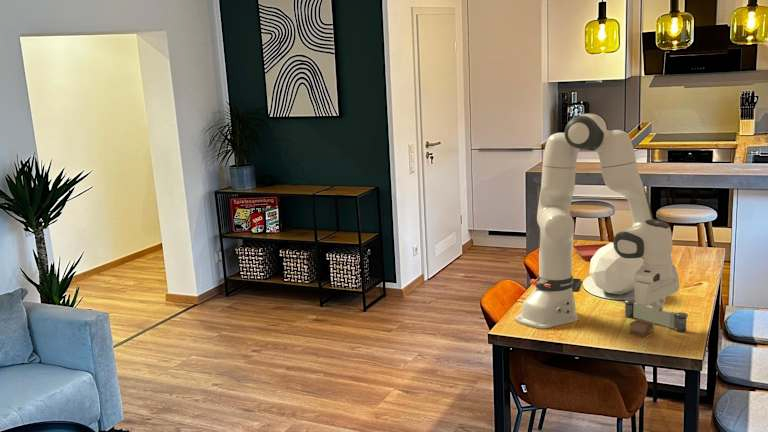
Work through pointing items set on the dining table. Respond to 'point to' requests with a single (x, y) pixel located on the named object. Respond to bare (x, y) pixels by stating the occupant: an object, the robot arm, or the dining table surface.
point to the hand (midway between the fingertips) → (657, 311)
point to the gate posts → (680, 316)
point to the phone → (576, 284)
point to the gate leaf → (654, 315)
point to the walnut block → (641, 328)
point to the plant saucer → (588, 250)
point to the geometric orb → (613, 270)
